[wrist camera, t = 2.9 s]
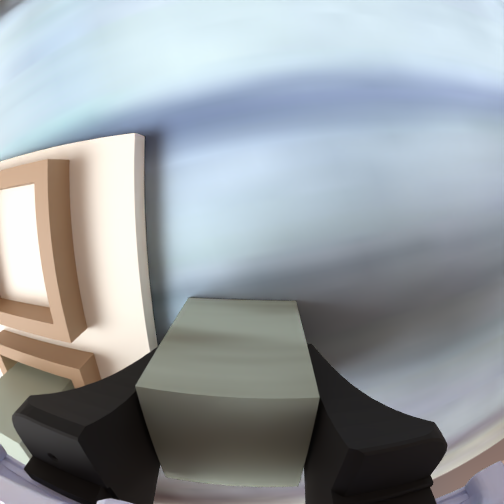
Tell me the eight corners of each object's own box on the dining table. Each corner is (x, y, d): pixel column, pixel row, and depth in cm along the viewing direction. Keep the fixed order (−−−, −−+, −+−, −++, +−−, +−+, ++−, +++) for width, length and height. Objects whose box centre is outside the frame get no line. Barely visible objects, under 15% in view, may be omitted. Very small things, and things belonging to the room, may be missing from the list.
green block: (288, 384, 13) (298, 486, 7) (196, 380, 13) (165, 477, 7) (295, 300, 12) (319, 397, 6) (188, 297, 12) (135, 385, 6)
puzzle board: (180, 453, 15) (156, 540, 8) (24, 405, 15) (-18, 455, 8) (144, 136, 11) (23, 100, 4) (-32, 175, 11) (-110, 187, 4)
